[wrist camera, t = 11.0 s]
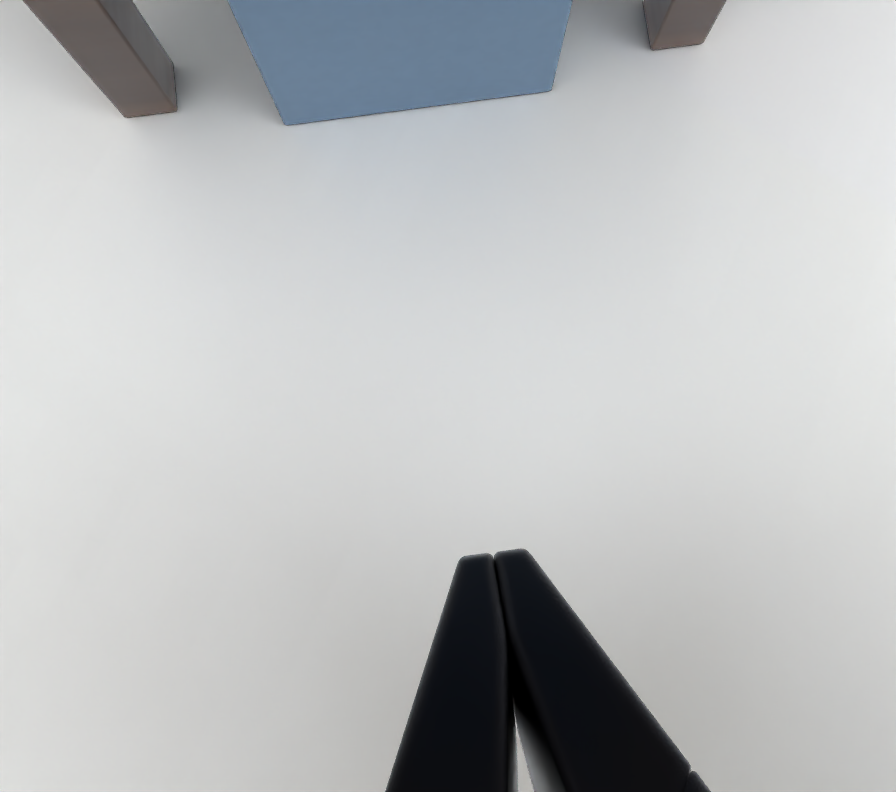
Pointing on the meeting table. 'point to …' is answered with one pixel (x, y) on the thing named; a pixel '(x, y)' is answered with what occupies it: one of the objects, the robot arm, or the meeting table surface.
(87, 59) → the side table
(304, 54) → the storage box
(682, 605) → the meeting table surface
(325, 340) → the meeting table surface
